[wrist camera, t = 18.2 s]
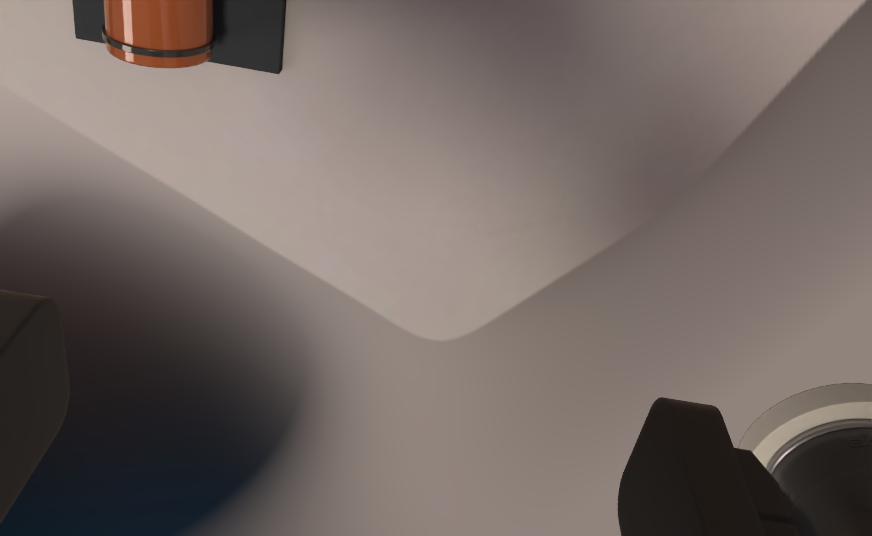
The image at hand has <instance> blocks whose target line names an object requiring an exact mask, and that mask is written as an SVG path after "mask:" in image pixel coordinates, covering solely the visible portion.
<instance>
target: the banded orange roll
mask: <svg viewBox="0 0 872 536" xmlns="http://www.w3.org/2000/svg"><path fill="white" fill-rule="evenodd" d="M103 7H104V24H103V26H102V28H101V33H102V38H103V39H104V41H105V42H106V48H107V50H108V52H109V53H110V54H112V55H113V56H114V57H116V58H118V59H120V60H123V61H126V62H129V63H132V64H136V65H141V66H147V67H155V68H183V67H190V66H195V65H199V64H202V63H204V62H206V61H208V60H209V59H210V58H211V56H212V54H213V48H214V47H215V45H216V35H215V33H214V32H213V0H103Z"/></svg>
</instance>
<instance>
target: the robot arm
mask: <svg viewBox="0 0 872 536" xmlns="http://www.w3.org/2000/svg"><path fill="white" fill-rule="evenodd" d="M69 393H70V384H69V375H68V367H67V358H66V350H65V340H64V332H63V324H62V315H61V309H60V306H59V304H58V302H57V301H56V300H55V299H53V298H49V297H43V296H36V295H30V294H24V293H18V292H11V291H6V290H0V524H1V522H2V521H3V519H4V517H5V516H6V514H7V513H8V511H9V509H10V508H11V506H12V505H13V503H14V502H15V500H16V498H17V497H18V495H19V494H20V492H21V490H22V489H23V487H24V486H25V484H26V482H27V481H28V479H29V478H30V476H31V475H32V473H33V471H34V470H35V468H36V467H37V465H38V463H39V462H40V460H41V459H42V457H43V455H44V454H45V452H46V451H47V449H48V448H49V446H50V444H51V443H52V441H53V440H54V438H55V436H56V435H57V433H58V431H59V429H60V427H61V425H62V423H63V420H64V417H65V414H66V411H67V407H68V402H69ZM618 518H619V525H620V530H621V535H622V536H872V420H871V419H846V420H839V421H833V422H829V423H825V424H822V425H819V426H816V427H813V428H811V429H809V430H806V431H804V432H802V433H801V434H799V435H797V436H795V437H794V438H792V439H791V440H789V441H788V442H787V443H785V444H784V445H783V446H782V447H781V448H780V449H779V450H778V451H777V452H776V453H775V454H774V456H773V457H772V458H771V460H770V461H769V463H768V465H767V467H766V468H765V467H764V465H763V464H762V463H761V462H760V461H759V460H758V458H757V457H756V456H755V455H754V454H753V453H752V451H751V450H745V449H738V448H734V447H733V444H732V442H731V439H730V436H729V434H728V431H727V428H726V425H725V423H724V420H723V417H722V415H721V413H720V411H719V410H718V408H716V407H715V406H712V405H705V404H699V403H693V402H687V401H681V400H675V399H668V398H658V399H657V400H656V401H655V402H654V403H653V405H652V407H651V409H650V412H649V414H648V416H647V418H646V420H645V423H644V425H643V427H642V430H641V432H640V435H639V437H638V439H637V442H636V444H635V446H634V449H633V451H632V454H631V456H630V458H629V460H628V463H627V465H626V468H625V470H624V472H623V475H622V479H621V482H620V488H619V495H618Z"/></svg>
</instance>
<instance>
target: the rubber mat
mask: <svg viewBox="0 0 872 536" xmlns="http://www.w3.org/2000/svg"><path fill="white" fill-rule="evenodd" d="M285 6H286V0H213V32H214V33H215V35H216V45H215V47H214V48H213V54H212V56H211V58H210V59H209V60H208V62H213V63H219V64H225V65H230V66H236V67H242V68H247V69H253V70H259V71H264V72H270V73H276V74H279V73H280V72H281V70H282V55H283V39H284V22H285ZM73 10H74V22H75V34H76V38H77V39H83V40H89V41H94V42H100V43H106V42H105V41H104V39H103V38H102V33H101V28H102V26H103V24H104V7H103V0H73Z"/></svg>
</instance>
